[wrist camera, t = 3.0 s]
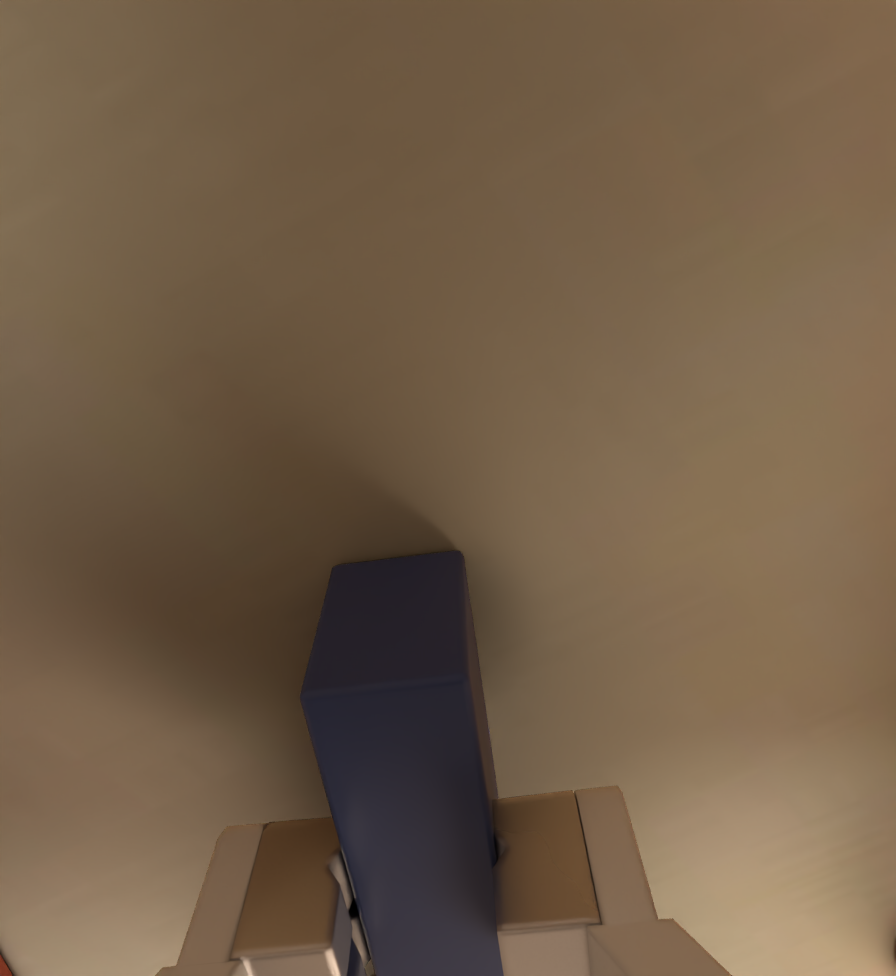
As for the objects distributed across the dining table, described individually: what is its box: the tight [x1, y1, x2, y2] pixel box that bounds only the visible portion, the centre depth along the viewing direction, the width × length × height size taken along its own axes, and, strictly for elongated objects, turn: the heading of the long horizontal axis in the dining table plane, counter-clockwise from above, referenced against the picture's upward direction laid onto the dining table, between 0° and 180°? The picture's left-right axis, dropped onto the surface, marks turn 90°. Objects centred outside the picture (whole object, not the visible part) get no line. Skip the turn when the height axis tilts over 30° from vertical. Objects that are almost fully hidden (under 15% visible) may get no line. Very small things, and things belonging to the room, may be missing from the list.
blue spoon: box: [300, 551, 504, 976], centre depth 10 cm, size 11×4×2 cm, turn 8°
